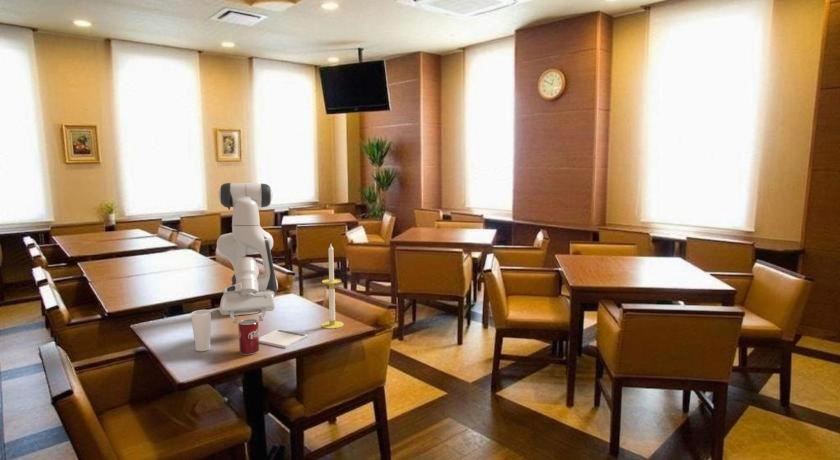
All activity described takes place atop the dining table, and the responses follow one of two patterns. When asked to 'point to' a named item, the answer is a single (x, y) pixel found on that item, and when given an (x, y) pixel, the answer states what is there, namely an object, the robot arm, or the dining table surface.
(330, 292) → the candle
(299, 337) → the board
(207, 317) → the drinking glass
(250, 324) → the soda can
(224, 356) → the dining table surface
